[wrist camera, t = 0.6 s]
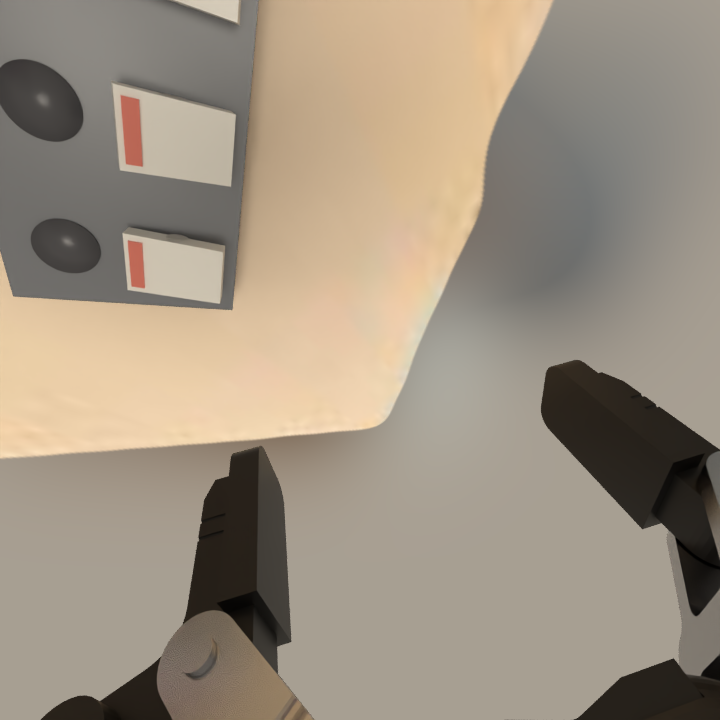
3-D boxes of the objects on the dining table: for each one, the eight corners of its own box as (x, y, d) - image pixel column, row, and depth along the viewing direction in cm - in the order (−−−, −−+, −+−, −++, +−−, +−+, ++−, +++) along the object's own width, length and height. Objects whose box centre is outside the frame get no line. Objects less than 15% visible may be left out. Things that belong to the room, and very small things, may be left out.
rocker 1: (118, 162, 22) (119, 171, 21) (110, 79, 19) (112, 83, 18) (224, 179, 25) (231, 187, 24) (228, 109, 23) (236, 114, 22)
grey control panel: (31, 270, 28) (12, 297, 25) (-106, -295, 15) (-184, -383, 12) (228, 287, 34) (232, 311, 31) (258, -106, 20) (270, -132, 17)
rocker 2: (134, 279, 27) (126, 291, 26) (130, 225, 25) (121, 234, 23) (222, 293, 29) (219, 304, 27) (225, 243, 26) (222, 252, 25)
